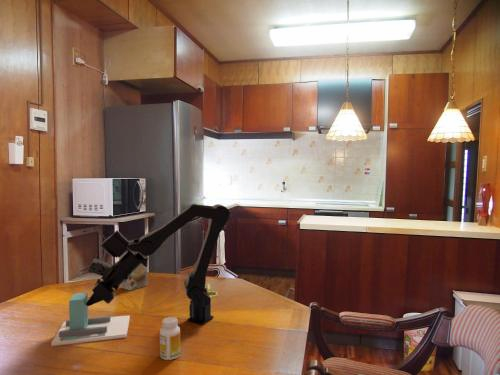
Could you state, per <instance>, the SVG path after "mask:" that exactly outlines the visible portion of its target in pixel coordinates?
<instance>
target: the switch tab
mask: <svg viewBox="0 0 500 375" xmlns="http://www.w3.org/2000/svg"><path fill="white" fill-rule="evenodd" d="M88 293H89V292H79V293H78V292H77V293H73V294H72V296H71V298H70V299H69V300H68V305H69V306H68V309H69V311H68V312H69V313H68V314H69V315H68V316H69V319H68V320H69V322H70V330H74V329H83V328H87V325H88V318H89V306H87V305H86V303H87V301H88V300H89V294H88Z"/></svg>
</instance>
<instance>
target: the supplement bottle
mask: <svg viewBox="0 0 500 375" xmlns="http://www.w3.org/2000/svg"><path fill="white" fill-rule="evenodd" d="M178 320H179V319H178V318H177V317H174V316H169V317H165V318H163V319H162V322H161V323H162V327H161V328H160V329H159V356H160V358H161V359H162V360H165V361H170V360H174V359H177V358H179V357H180V356H181V328H180V326H179V325H178V324H179V323H178Z"/></svg>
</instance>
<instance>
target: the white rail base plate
mask: <svg viewBox="0 0 500 375" xmlns="http://www.w3.org/2000/svg"><path fill="white" fill-rule="evenodd" d="M130 319H131V315H118V316H111V315H106V316H97V317H96V316H94V317H88V325H87V328H83V329H74V330H70V322H69V319H67V320H65V321H63V323H62V324H61V327H60V328H59V330H58V331H57V333H56V334H55V336H54V338H53V339H52V341H51V347H53V346H54V347H55V346H62V345H70V344H71V345H72V344H73V345H74V344H80V343H81V344H82V343H89V342H98V341H105V340H106V341H107V340H116V339H123V338H127V337H128V336H127V335H128V329H129V325H130Z"/></svg>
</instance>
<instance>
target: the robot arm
mask: <svg viewBox="0 0 500 375" xmlns="http://www.w3.org/2000/svg"><path fill="white" fill-rule="evenodd" d="M230 215H231V213H230V210H229V209H228V207H226V206H224V205H222V204H214V205H205V204H197V203H191V204H190V205H189V206H187V208H185V209H183V211H181V212H179V214H176V215H175V216H174V217H173V218H172V219H170V220H169V221H167V222H166V223H165V224H163V225H162V226H161V227H159V228H157V229H154V230H152V231H150V232H148V233H146V234H144V235H142V236H141V237H140V238H136V239H131V240H130V239H129V240H128V239H127V238H126V237H125V236H124V235H123V234H122V233H121V231H119V230H116V231H114V232H113V233H112V234H111V235H109V236H108V237H107V238H106V239H105V240H104V241H103V242H101V244H100V245H99V247H101V248H102V249H103V250H104V251H105V252H106V253H107V254H109V255H110V256H111V257H112V258H118V259H119V258H120V257H121V258H120V259H119V260H118V261H115V262H113V263H112V264H110V263H108V262H106V261H104V260H101V259H98V258H93V259H92V261H91V263H90V265H89V267H88V268H87V272H88V273H91V274H95V275H99V276H101V277H100V278H101V279H100V278H98V279H97V280H96V282H95V284H94V286H93V288H92V294H91V295H90V297H88V301H87V303H86V305H87V306H88V307H90V306H92V305H95V304H98V303H100V302H102V301H103V302H105V303H106V304H110V303H111V302H112V301H113V300H114V298H115V296H116V291H117V290H118V289H119V287H120V286H122V283H123V282H124V281H125V280H127V279H128V278H129V275H130V274H131V273H132V272H133V271H134V270H135V269H136V268H137V267H138V266H139V265H140V264H141V263H142V264H143V265H144V266H145V267H147V266H148V267H149V256H151V255H153V254H155V252H156V251H157V250H158V249H160V247H161V246H162V245H163V243H164V242H165V241H166V240H167V239H168V238H169V237H171V236H172V235H173V234H174V233H176V232H177V231H179V230H180V229H181V228H183V227H184V226H185V225H187V224H188V223H189V222H191V221H193V220H194V219H195V218H197V217H198V218H203V219H208V220H207V221H208V222H207V223H208V224H207V225H208V226H207V231H206V234H205V237H204V239H203V243H202V246H201V249H200V252H199V255H198V258H197V260H196V264H195V266H194V269H193V270H192V272H190V271H187V274H186V278H185V280H184V281H183V283H184V284H183V285H184V288H185V293H186V296H187V299H189V300H190V303H189V309H188V310H189V317H188V318H187V321H188V322H190V323H191V322H192V323H195V324H199V325H205V324H206V323H207V322H209V321H210V320H212V319H214V315H211V312H212V311H211V310H212V306H211V303H212V302H211V301H212V297H211V298H210V296H211V295H210V294H208V291H207V288H206V287H205V285H206V283H207V282H206V281H207V280H206V279H207V273H208V268H209V267H210V262H211V260H212V258H213V253H214V252H215V249H216V245H217V242H218V239H219V237H220V235H221V232H222V231H223V230H224V228H225V227H226V224H227V223H228V222H229V219H230ZM126 250H127V251H128V252H127V253H126V254H125V255H124V256H123V257H122V255H123V254H124V253H125V251H126ZM134 251H135V252H136V253H135V252H134ZM139 252H140V253H141V254H142V255H145V256H148V257H144V256H142V255H141V254H140V253H139Z"/></svg>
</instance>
